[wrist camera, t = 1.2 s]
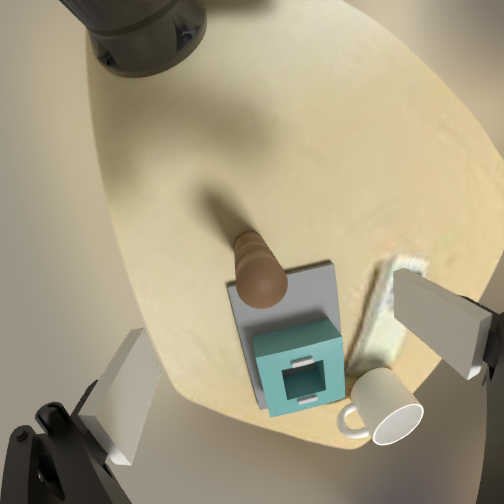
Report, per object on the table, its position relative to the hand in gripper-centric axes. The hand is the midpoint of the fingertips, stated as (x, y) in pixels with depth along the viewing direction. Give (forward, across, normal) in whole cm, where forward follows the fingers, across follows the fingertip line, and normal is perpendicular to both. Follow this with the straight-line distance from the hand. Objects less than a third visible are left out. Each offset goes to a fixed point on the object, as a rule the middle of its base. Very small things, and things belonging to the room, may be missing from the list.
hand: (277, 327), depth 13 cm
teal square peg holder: (+19, +3, -16) cm, 25 cm away
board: (+20, +3, -14) cm, 25 cm away
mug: (+20, +13, -27) cm, 36 cm away
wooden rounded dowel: (+20, 0, 0) cm, 20 cm away
